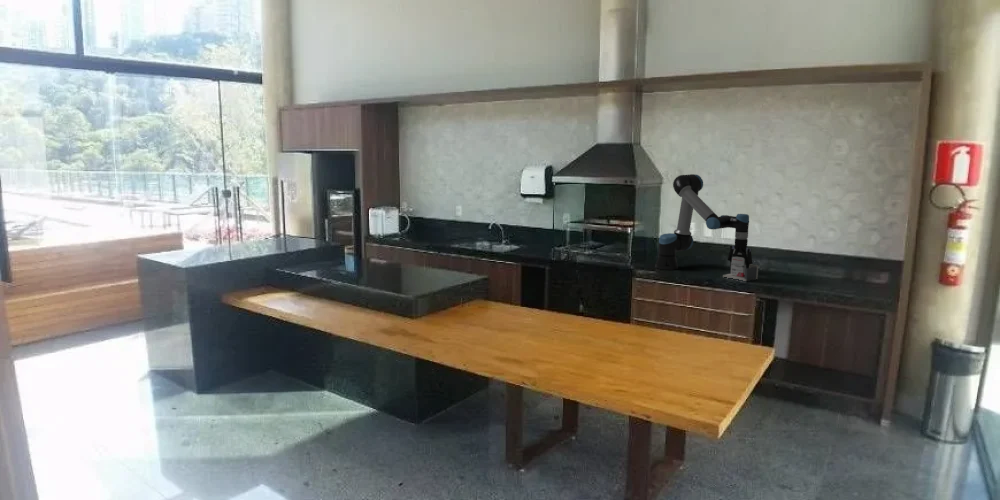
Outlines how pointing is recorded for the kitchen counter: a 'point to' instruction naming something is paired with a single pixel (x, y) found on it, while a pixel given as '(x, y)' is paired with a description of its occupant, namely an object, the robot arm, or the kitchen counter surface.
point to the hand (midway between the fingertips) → (738, 273)
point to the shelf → (746, 274)
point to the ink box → (738, 266)
